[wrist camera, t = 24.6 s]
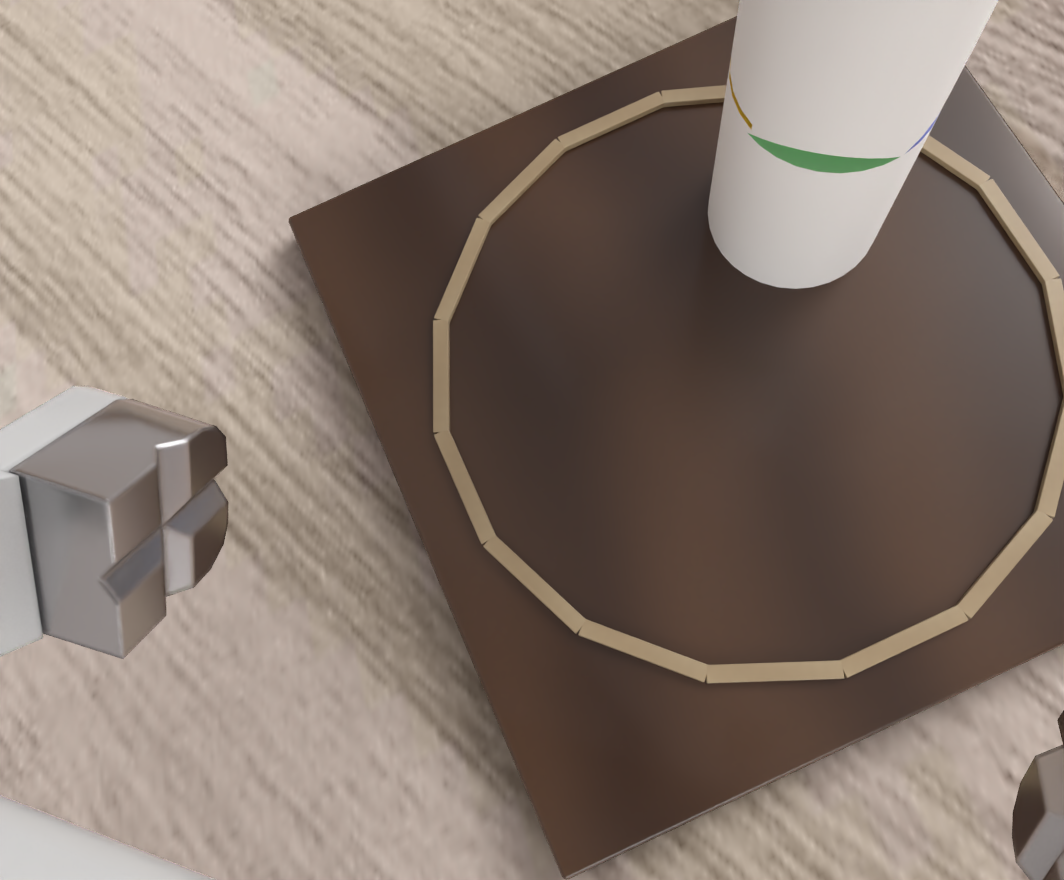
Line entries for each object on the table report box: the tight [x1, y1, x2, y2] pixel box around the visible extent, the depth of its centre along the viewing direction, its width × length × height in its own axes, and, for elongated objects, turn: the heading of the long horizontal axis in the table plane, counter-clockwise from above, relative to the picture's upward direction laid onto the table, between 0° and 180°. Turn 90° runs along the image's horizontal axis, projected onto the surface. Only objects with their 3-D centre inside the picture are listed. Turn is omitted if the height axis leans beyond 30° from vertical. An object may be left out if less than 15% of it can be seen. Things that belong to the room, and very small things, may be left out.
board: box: [289, 16, 1064, 879], centre depth 24 cm, size 18×18×1 cm
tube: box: [708, 0, 998, 289], centre depth 17 cm, size 4×4×15 cm
